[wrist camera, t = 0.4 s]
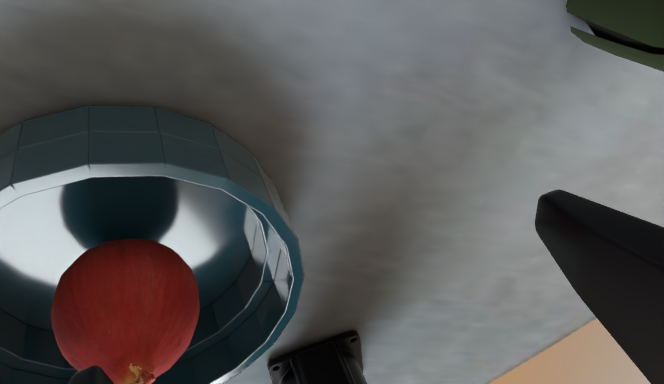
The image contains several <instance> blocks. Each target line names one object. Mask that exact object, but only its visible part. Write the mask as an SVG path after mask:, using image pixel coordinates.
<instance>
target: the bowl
mask: <svg viewBox="0 0 664 384" xmlns="http://www.w3.org/2000/svg"><path fill="white" fill-rule="evenodd" d="M129 238H134V239H145V240H154V241H157V242H159V243H161V244H163V245H165V246H167V247H170V248H171V249H173V250H174V251H175V252H176V253H177V254H179V255H180V256H181V257H182V259H183V260H184V261H185V262H186V263H187V264H188V265H189V267H190V268H191V269H192V272H193V274H194V276H195V278H196V281H197V287H198V295H199V306H200V311H199V317H198V322H197V325H196V328H195V330H194V333H193V336H192V339H191V341H190V344H189V346H188V347H187V349H186V350H185V352H184V353H183V354H182V355H181V356H180V358H179V359H178V360H177V361H176V362H175V363H174V364H173V366H172V367H171V368H170V369H169V370H167V371H166V372H164V373H162V374H161V375H159V376H158V377H156V380H155V381H154V382H153V383H152V384H222V383H224V382H225V381H227V380H229V379H231V378H232V377H234V376H236V375H238V374H239V373H241V372H242V371H244V370H245V369H246V368H247V367H248V366H249V365H250V364H252V363H253V362H254V361H255V360H256V359H257V358H258V357H260V356H261V355H262V354H263V353H264V352H265V351H266V350H267V349H269V348H270V347H271V346H272V345H273V344H274V343H275V342H276V340H277V339H278V337H279V336H280V334H281V333H282V331H283V330H284V328H285V327H286V325H287V324H288V322H289V321H290V319H291V318H292V316H293V315H294V313H295V311H296V308H297V304H298V300H299V296H300V292H301V288H302V284H303V281H304V275H305V274H304V268H303V263H302V257H301V252H300V246H299V241H298V238H297V236H296V233H295V231H294V229H293V227H292V224H291V222H290V220H289V217H288V215H287V213H286V211H285V209H284V206H283V204H282V202H281V199H280V197H279V195H278V192H277V190H276V188H275V186H274V184H273V182H272V181H271V180H270V178H269V177H268V175H267V174H266V172H265V171H264V170H263V168H262V167H261V165H260V164H259V162H258V161H257V159H256V158H255V157H254V155H253V154H252V153H251V152H250V151H249V150H248V149H246V148H245V147H243V146H242V145H240V144H239V143H237V142H236V141H235V140H233V139H232V138H230V137H229V136H227V135H226V134H224V133H223V132H221V131H220V130H219V129H217V128H216V127H214V126H213V125H210V124H209V123H206V122H203V121H199V120H196V119H193V118H190V117H186V116H183V115H180V114H177V113H173V112H170V111H167V110H164V109H160V108H157V107H155V108H154V107H134V106H100V105H91V106H90V107H89V106H84V107H79V108H75V109H71V110H67V111H63V112H58V113H54V114H50V115H46V116H42V117H38V118H33V119H29V120H25V121H24V122H20V123H18V124H17V125H15V126H13V127H11V128H10V129H8V130H6V131H5V132H3V133H1V134H0V384H68V383H69V381H70V379H71V377H72V376H73V375H74V374H75V373H76V372H78V370H77V369H75V368H74V367H73V366H72V365H70V364H69V362H68V361H67V360H66V359H65V358H64V356H63V355H62V353H61V351H60V349H59V347H58V344H57V341H56V338H55V335H54V331H53V328H52V320H51V308H52V303H53V299H54V295H55V290H56V288H57V285H58V282H59V280H60V277H61V275H62V274H63V273H64V272H65V271H66V270H67V269H68V268H69V266H70V265H71V264H72V263H73V262H74V261H75V260H76V259H77V258H78V257H79V256H80V255H82V254H83V253H84V252H85V251H87V250H88V249H91V248H93V247H95V246H98V245H100V244H103V243H105V242H108V241H114V240H122V239H129Z"/></svg>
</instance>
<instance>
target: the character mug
mask: <svg viewBox="0 0 664 384" xmlns="http://www.w3.org/2000/svg"><path fill="white" fill-rule="evenodd" d="M566 8H567V12H569V13H571V14H574V15H576V16H578V17H581V18H583V19H585V20H586V22H587V24H588V25H589V27H590V28H591V30H592V31H593V33H594V35H595V36H594V35H591V34H589V33H586V32H584V31H581V30H579V29H576V28H573V27H571V26H570V27H571V32H572V33H573V34H575V35H576V36H577V37H579V38H580V39H581V40H582V41H584V42H585V43H587V44H590V45H592V46H595V47H597V48H599V49H602V50H604V51H607V52H609V53H611V54H614V55H616V56H619V57H622V58H625V59H628V60H631V61H634V62H637V63H640V64H643V65H646V66H649V67H652V68H655V69H658V70H661V71H664V0H567V3H566Z"/></svg>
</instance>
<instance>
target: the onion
mask: <svg viewBox="0 0 664 384" xmlns="http://www.w3.org/2000/svg"><path fill="white" fill-rule="evenodd" d="M199 311H200V306H199V295H198V287H197V281H196V278H195V276H194V274H193V272H192V269H191V268H190V267H189V265H188V264H187V263H186V262H185V261H184V260H183V259H182V257H181V256H180V255H179V254H177V253H176V252H175V251H174V250H173V249H171V248H170V247H167V246H165V245H163V244H161V243H159V242H157V241H154V240H145V239H134V238H129V239H122V240H114V241H108V242H105V243H103V244H100V245H98V246H95V247H93V248H91V249H88V250H87V251H85V252H84V253H83V254H82V255H80V256H79V257H78V258H77V259H76V260H75V261H74V262H73V263H72V264H71V265H70V266H69V268H68V269H67V270H66V271H65V272H64V273H63V274H62V275H61V277H60V280H59V282H58V285H57V288H56V290H55V295H54V299H53V303H52V308H51V320H52V328H53V331H54V335H55V338H56V341H57V344H58V347H59V349H60V351H61V353H62V355H63V356H64V358H65V359H66V360H67V361H68V362H69V364H70V365H72V366H73V367H74V368H75V369H77V370H78V371H81V370H83V369H86V368H88V367H91V366H94V365H97V366H100V367H101V368H102V369H103V371H104V372H105V373H106V374H107V375H108V377H109V378H110V379H111V380H112V381H113V383H114V384H152V383H153V382H154V381H155V380H156V377H158V376H159V375H161V374H162V373H164V372H166V371H167V370H169V369H170V368H171V367H172V366H173V364H174V363H175V362H176V361H177V360H178V359H179V358H180V356H181V355H182V354H183V353H184V352H185V350H186V349H187V347H188V346H189V344H190V341H191V339H192V336H193V333H194V330H195V328H196V325H197V322H198V317H199Z"/></svg>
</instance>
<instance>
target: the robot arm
mask: <svg viewBox="0 0 664 384" xmlns="http://www.w3.org/2000/svg"><path fill="white" fill-rule="evenodd" d="M535 228H536V231H537V233H538V235H539V237H540V238H541V240H542V241H543V243H544V244H545V246H546V247H547V249H548V250H549V252H550V253H551V255H552V256H553V258H554V259H555V261H556V263H557V264H558V266H559V267H560V269H561V270H562V272H563V273H564V275H565V276H566V278H567V279H568V281H569V282H570V284H571V285H572V287H573V288H574V290H575V291H576V292H577V294H578V295H579V296H580V298H581V299H582V300H583V301H584V303H585V304H586V305H587V306H588V308H589V309H590V310H591V311H592V312H593V314H594V315H595V316H596V317H597V318H598V320H599V321H600V322H601V323H602V325H603V326H604V327H605V328H606V329H607V331H608V332H609V333H610V334H611V336H612V337H613V338H614V339H615V340H616V342H617V343H618V344H619V345H620V346H621V348H622V349H623V350H624V351H625V352H626V354H627V355H628V356H629V357H630V359H631V360H632V361H633V362H634V363H635V365H636V366H637V367H638V368H639V370H640V371H641V372H642V373H643V374H644V376H646V378H647V379H648V381H649V382H650V383H651V384H664V227H661V226H658V225H656V224H653V223H650V222H647V221H645V220H642V219H639V218H637V217H634V216H631V215H628V214H626V213H623V212H620V211H618V210H615V209H612V208H609V207H607V206H604V205H601V204H598V203H596V202H593V201H590V200H588V199H585V198H582V197H579V196H577V195H574V194H571V193H569V192H566V191H563V190H554V191H551V192H549V193H546V194H544V195H542V196H540V198H539V200H538V206H537V212H536V219H535ZM267 366H268V369H269V373H270V376H271V379H272V382H273V384H367V382H366V380H365V377H364V375H363V367H362V356H361V344H360V337H359V335H358V332H357V331H350V332H348V333H345V334H342V335H339V336H337V337H334V338H331V339H328V340H325V341H323V342H320V343H317V344H314V345H311V346H309V347H306V348H303V349H300V350H298V351H295V352H292V353H289V354H286V355H284V356H281V357H278V358H275V359H273V360H271V361H270V362H269V363H268V365H267ZM68 384H114V383H113V381H112V380H111V379H110V378H109V377H108V375H107V374H106V373H105V372H104V371H103V369H102V368H101V367H100V366H97V365H94V366H91V367H88V368H86V369H83V370H81V371H78V372H76V373H75V374H74V375H73V376H72V377H71V379H70V381H69V383H68Z"/></svg>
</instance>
